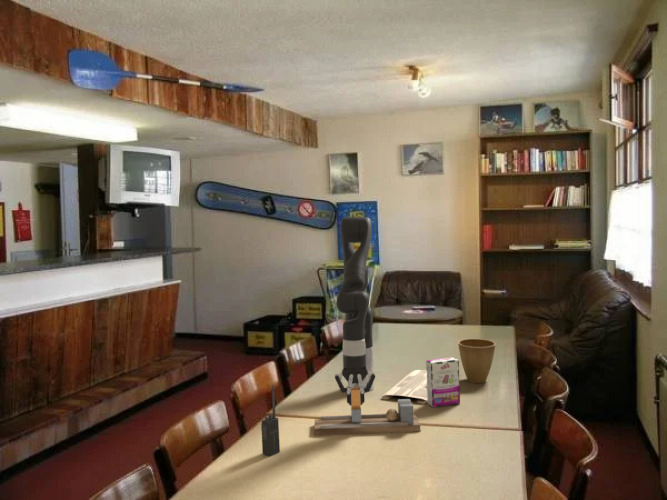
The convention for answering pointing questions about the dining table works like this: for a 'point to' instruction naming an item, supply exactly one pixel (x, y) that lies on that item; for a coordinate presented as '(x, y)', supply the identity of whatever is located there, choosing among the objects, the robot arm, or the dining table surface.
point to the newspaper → (411, 387)
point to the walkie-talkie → (270, 432)
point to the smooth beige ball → (392, 415)
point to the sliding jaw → (355, 405)
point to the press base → (370, 422)
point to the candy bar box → (443, 382)
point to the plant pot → (476, 358)
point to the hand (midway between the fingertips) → (355, 404)
